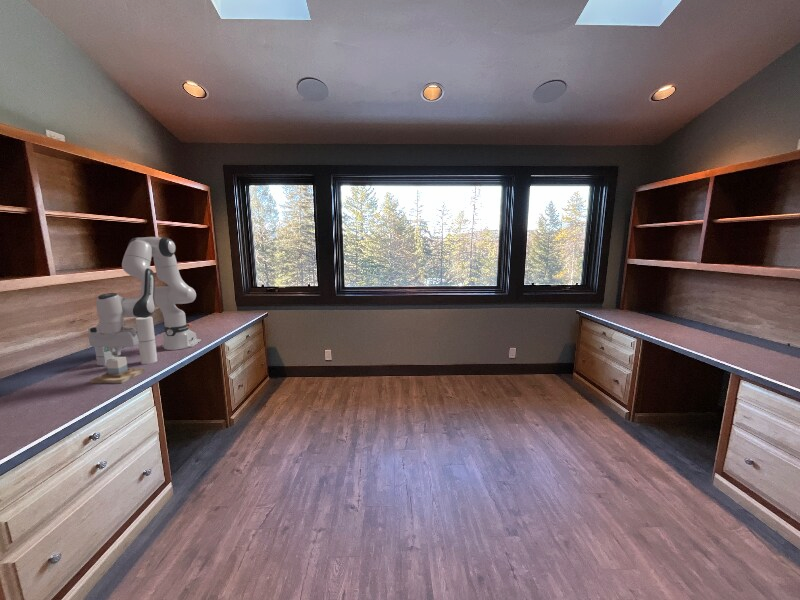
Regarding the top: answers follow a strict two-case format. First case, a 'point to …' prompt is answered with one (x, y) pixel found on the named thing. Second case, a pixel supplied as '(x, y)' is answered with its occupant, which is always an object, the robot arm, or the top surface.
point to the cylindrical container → (146, 340)
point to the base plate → (117, 377)
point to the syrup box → (103, 355)
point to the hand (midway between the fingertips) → (116, 355)
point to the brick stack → (117, 365)
